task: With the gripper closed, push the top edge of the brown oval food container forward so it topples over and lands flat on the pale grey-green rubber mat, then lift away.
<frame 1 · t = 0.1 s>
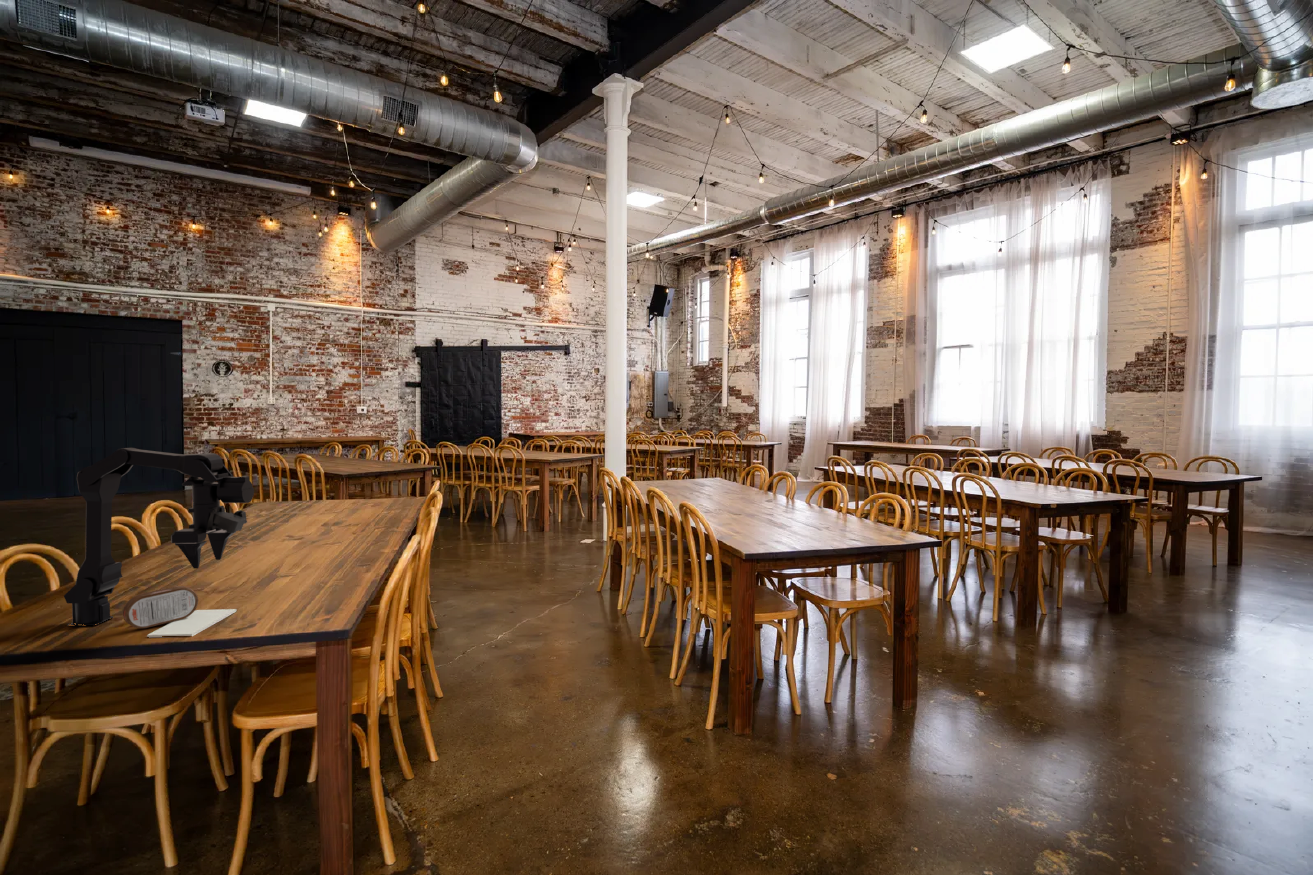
hand: (207, 563, 165), 15 cm above the table, tool pointing down, fingers open, 9 cm apart
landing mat: (194, 623, 163), on the table
brown oval food container: (164, 623, 162), on the table, touching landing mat
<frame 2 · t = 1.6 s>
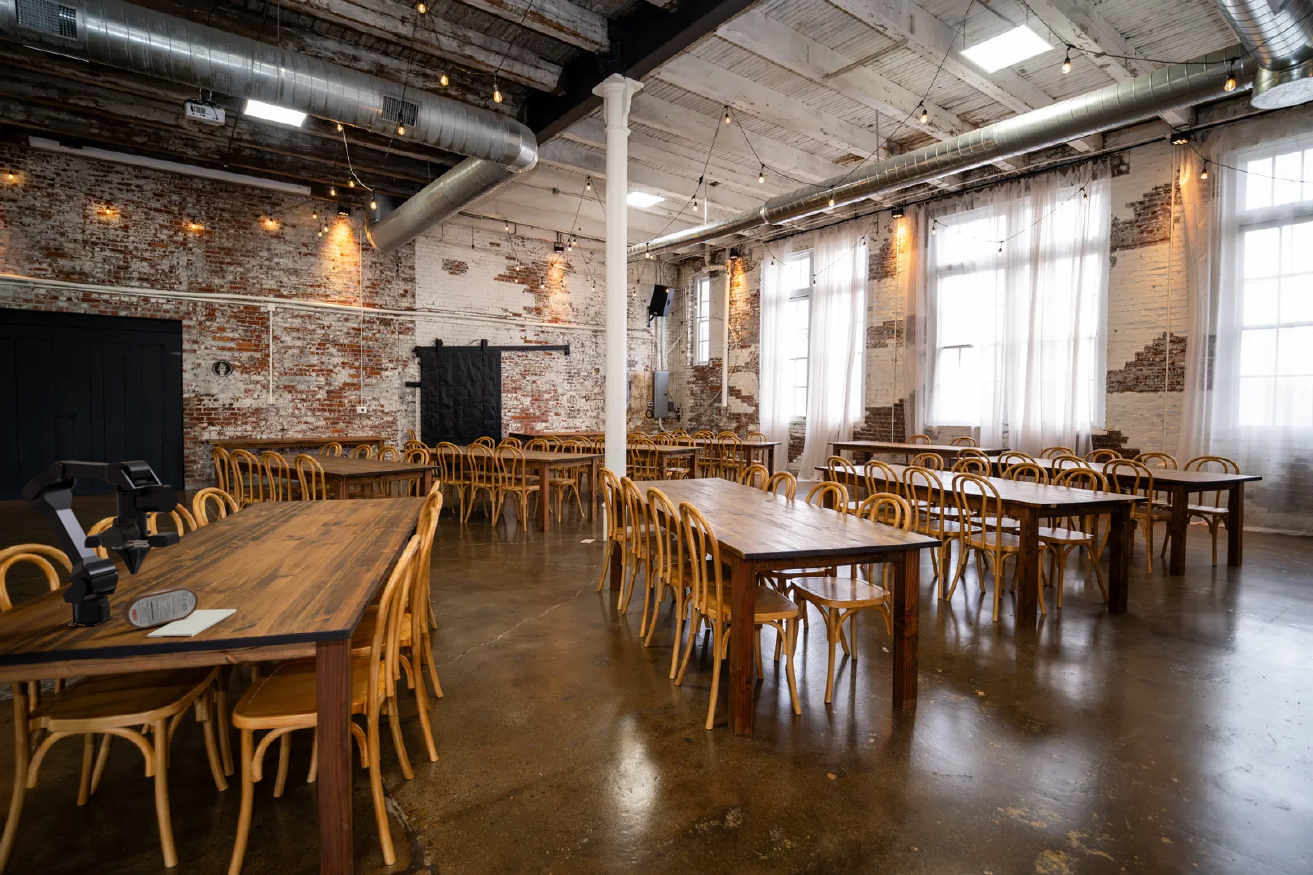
hand: (134, 574, 160), 13 cm above the table, tool pointing down, fingers closed
nothing on the table moved.
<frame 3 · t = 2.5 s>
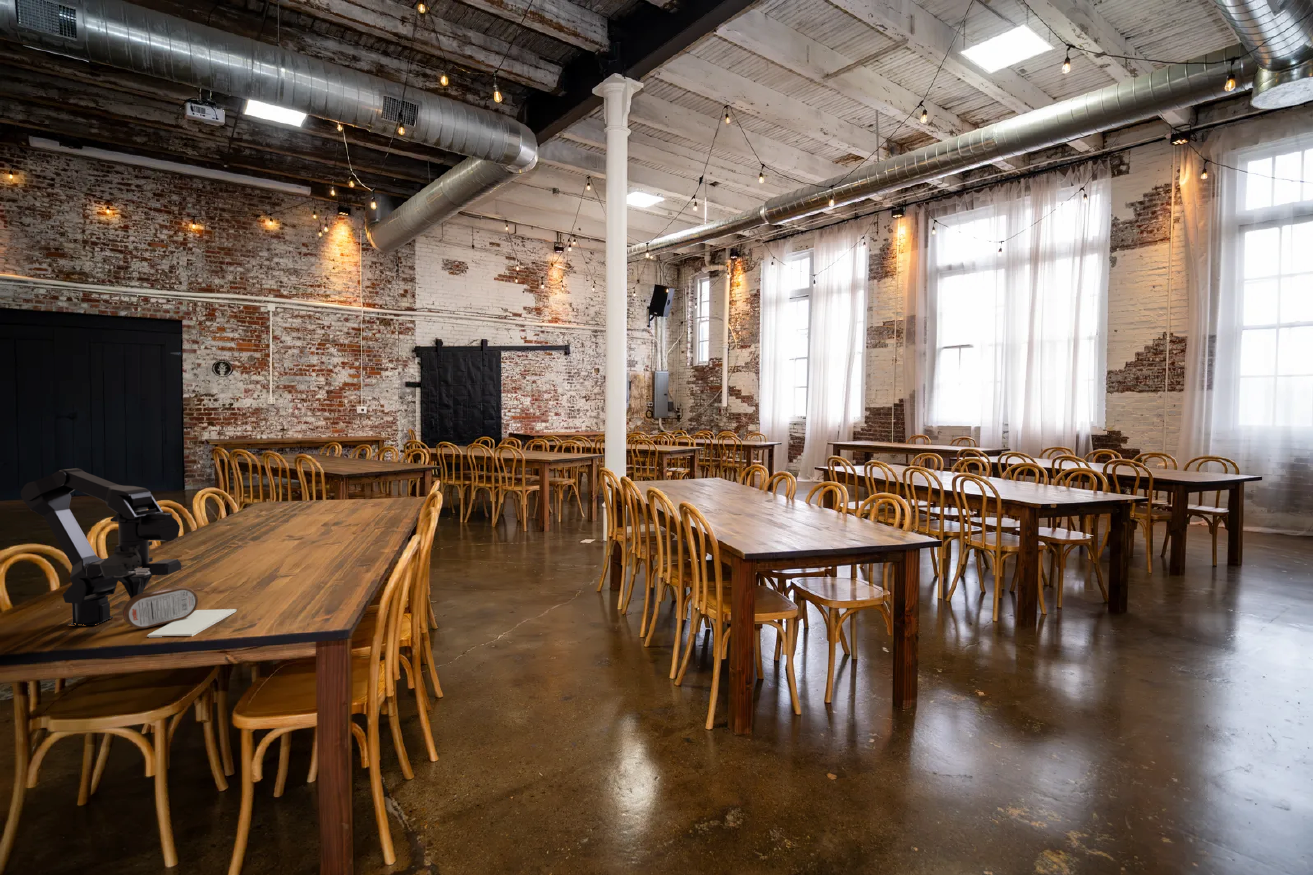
hand: (135, 601, 161), 6 cm above the table, tool pointing down, fingers closed
nothing on the table moved.
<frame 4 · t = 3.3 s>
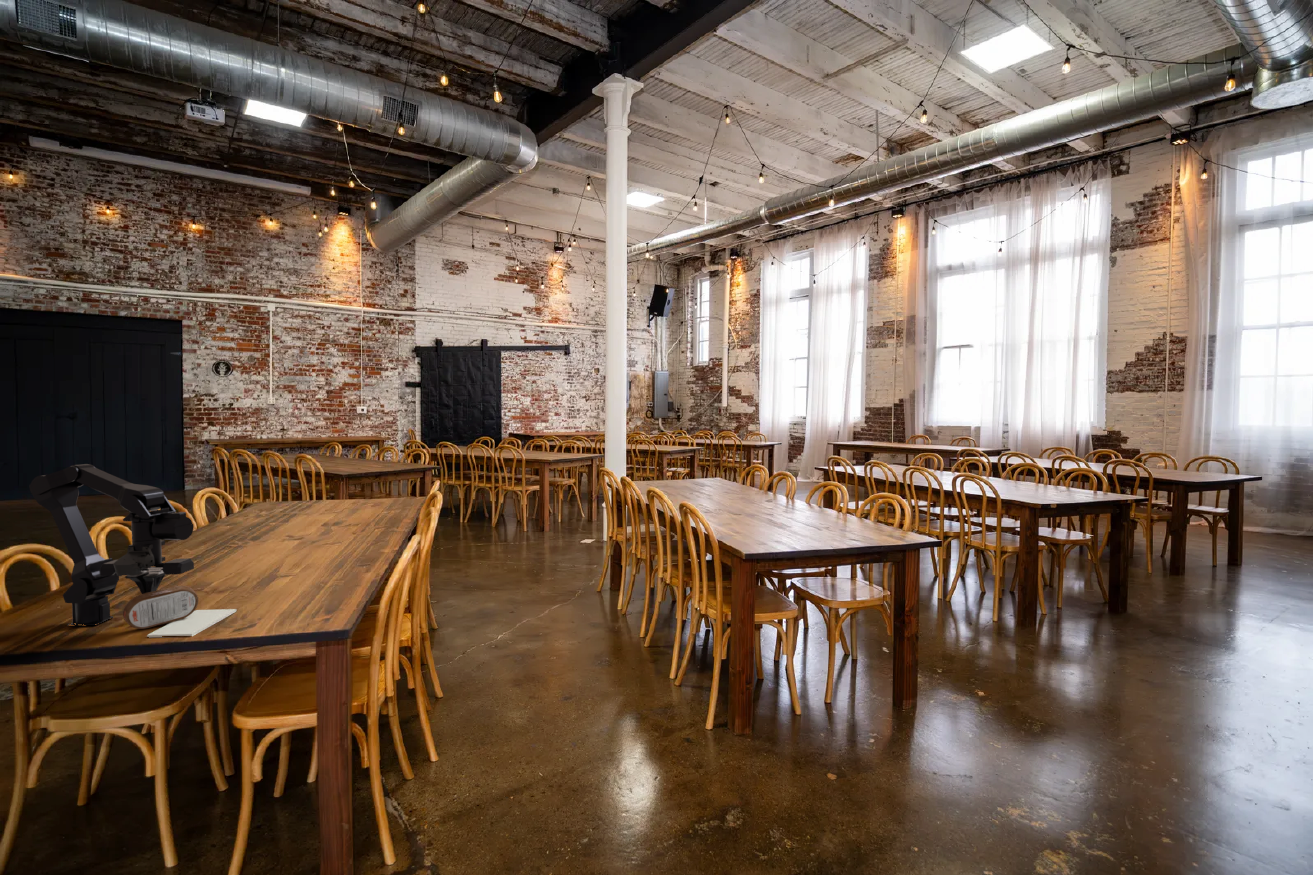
hand: (148, 601, 161), 6 cm above the table, tool pointing down, fingers closed
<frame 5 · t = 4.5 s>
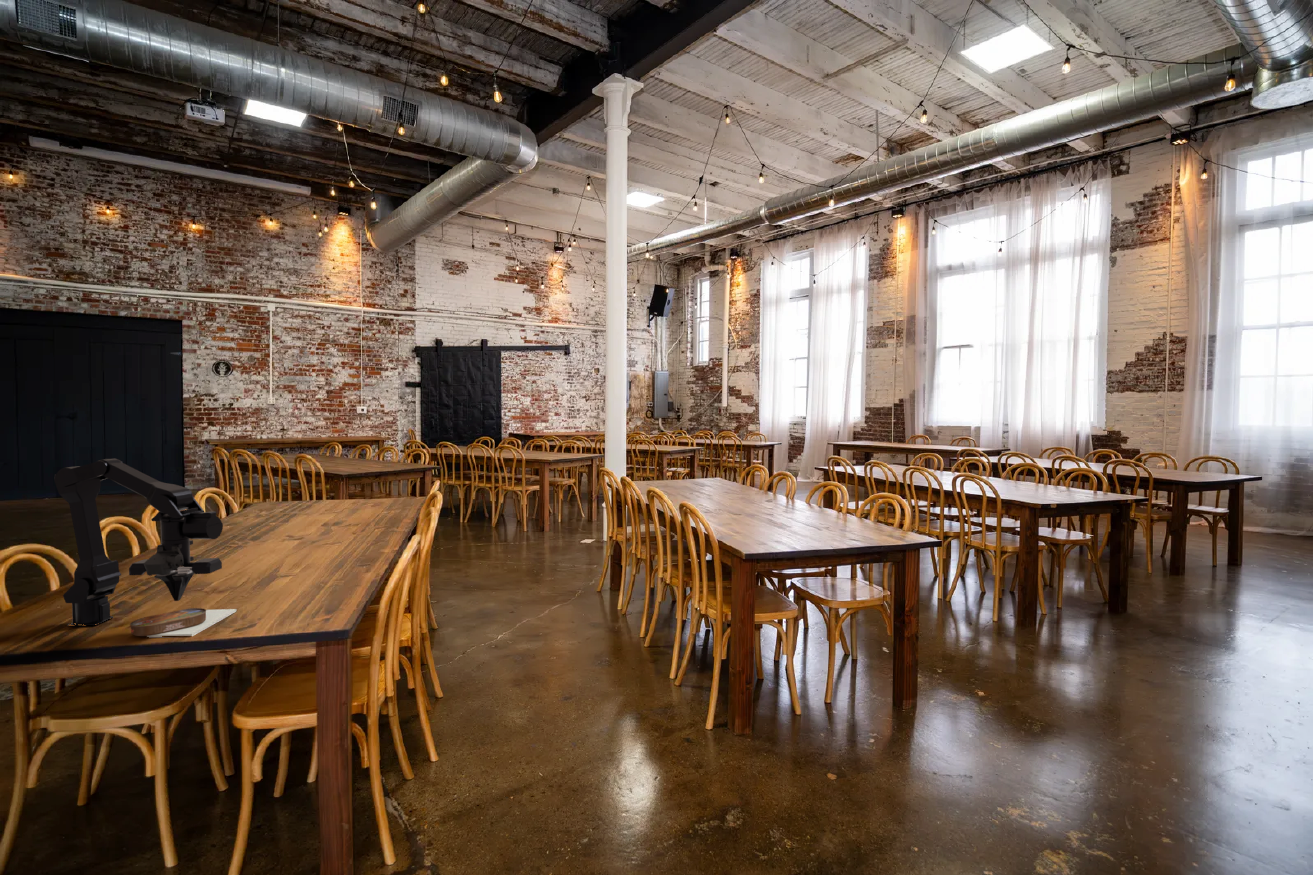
hand: (177, 600, 161), 6 cm above the table, tool pointing down, fingers closed
brown oval food container: (164, 619, 161), point 2 cm above the table, touching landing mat
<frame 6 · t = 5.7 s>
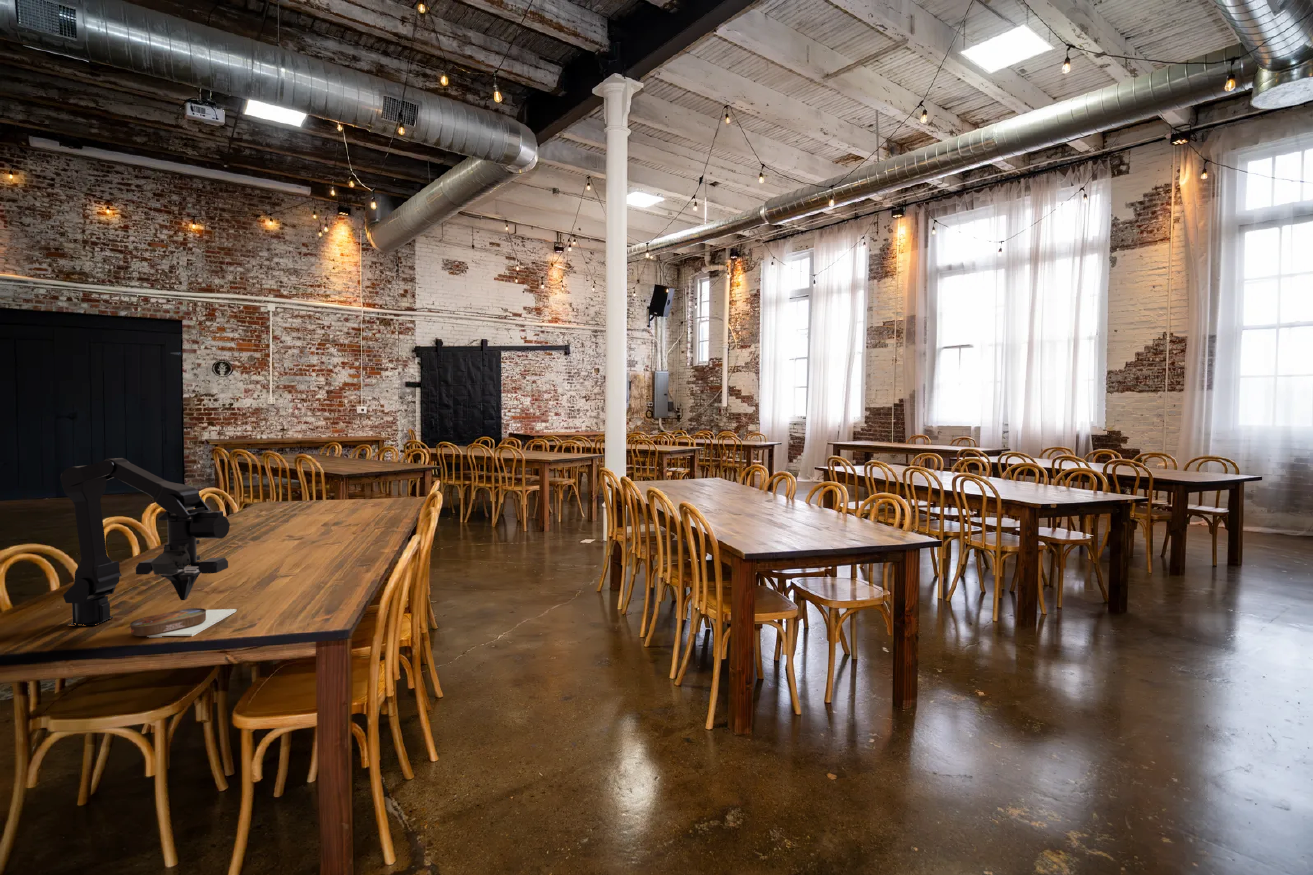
hand: (183, 599, 162), 6 cm above the table, tool pointing down, fingers closed
nothing on the table moved.
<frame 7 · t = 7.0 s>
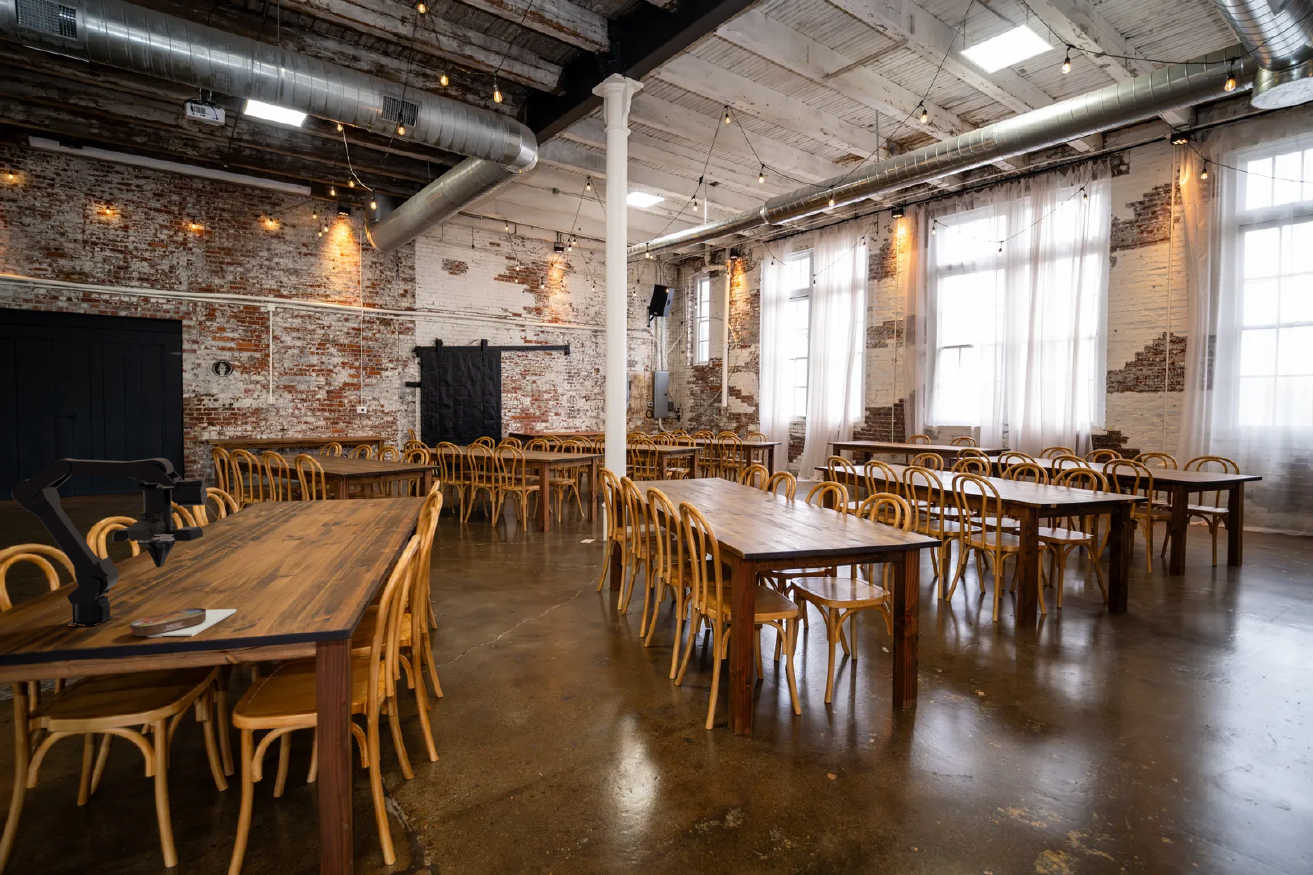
hand: (159, 567, 167), 13 cm above the table, tool pointing down, fingers closed
nothing on the table moved.
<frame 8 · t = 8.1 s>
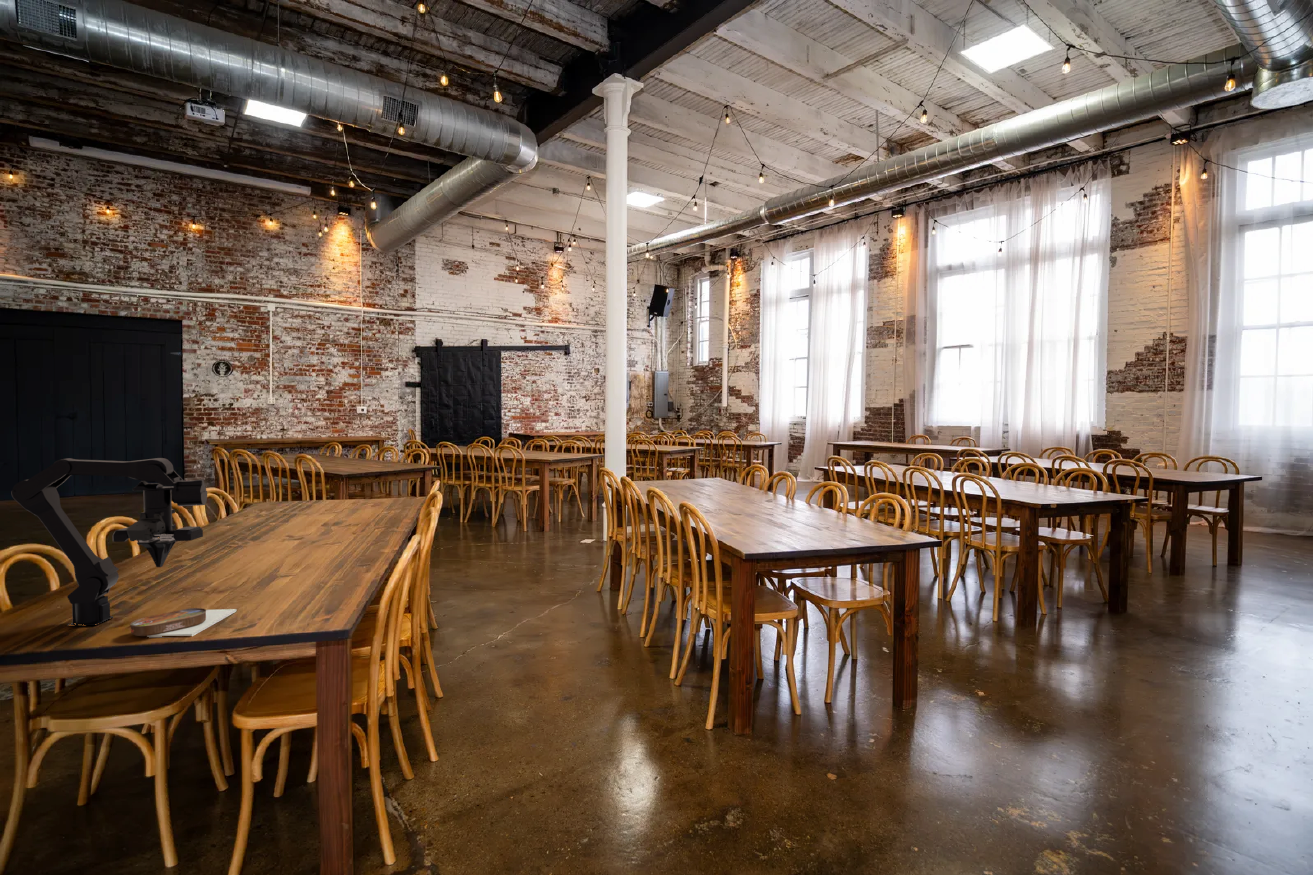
hand: (159, 567, 167), 13 cm above the table, tool pointing down, fingers closed
nothing on the table moved.
at the end: brown oval food container tilted 86°; brown oval food container inside the target area (5.3 cm from its centre), point 1.6 cm above the table; brown oval food container touching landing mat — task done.
